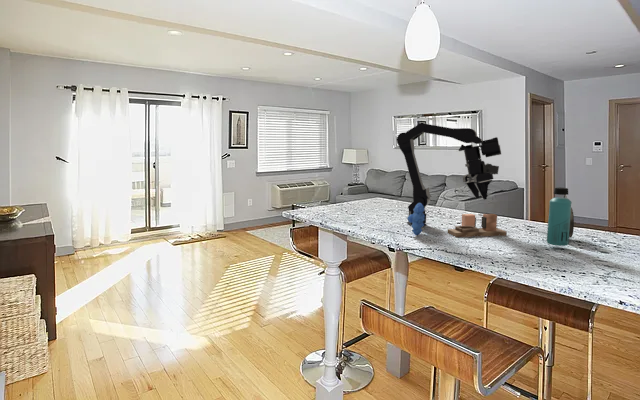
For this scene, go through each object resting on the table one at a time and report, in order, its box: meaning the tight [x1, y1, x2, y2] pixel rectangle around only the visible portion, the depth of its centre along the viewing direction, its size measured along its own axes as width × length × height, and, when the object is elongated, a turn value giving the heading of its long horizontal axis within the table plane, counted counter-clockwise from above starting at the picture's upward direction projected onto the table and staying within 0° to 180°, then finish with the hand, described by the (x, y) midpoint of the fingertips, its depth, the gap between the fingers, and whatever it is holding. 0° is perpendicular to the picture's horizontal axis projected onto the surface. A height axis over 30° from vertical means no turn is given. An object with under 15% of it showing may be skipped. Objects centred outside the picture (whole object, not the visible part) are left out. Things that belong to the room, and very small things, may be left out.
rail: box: [447, 213, 508, 238], centre depth 157 cm, size 20×7×8 cm, turn 97°
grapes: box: [406, 203, 426, 236], centre depth 157 cm, size 12×7×12 cm, turn 155°
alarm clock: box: [563, 195, 575, 238], centre depth 148 cm, size 11×5×16 cm, turn 158°
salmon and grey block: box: [461, 213, 477, 228], centre depth 166 cm, size 5×3×6 cm, turn 97°
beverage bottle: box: [546, 187, 572, 247], centre depth 135 cm, size 6×7×20 cm
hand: (481, 198), depth 164 cm, fingers open, 9 cm apart
